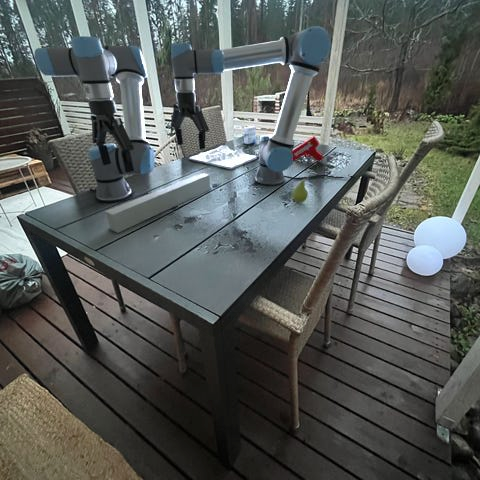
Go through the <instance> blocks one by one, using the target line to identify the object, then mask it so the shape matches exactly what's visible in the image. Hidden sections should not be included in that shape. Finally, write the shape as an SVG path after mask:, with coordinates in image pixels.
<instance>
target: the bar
mask: <svg viewBox="0 0 480 480" xmlns="http://www.w3.org/2000/svg"><path fill="white" fill-rule="evenodd" d="M210 176H211V175H210V174H208V173H205V172H201V173H198V174H195V175H193V176H191V177H189V178H186V179H184V180H181V181H178V182H175V183H173V184H170V185H168V186H165V187H162V188H161V189H158V190H156V191H153V192H150V193H147V194H145V195H143V196H140V197H138V198H135V199H133V200H130V201H128V202H125V203H122V204H120V205H118V206H115V207H112V208H110V209H108V210H105V211H104V212H105V215H106V218H107V221H108V225H109V228H110V230H111V231H114V232H115V233H117V234H119V233H121V232H123V231H125V230H128V229H130V228H131V227H134V226H136V225H138V224H140V223H143V222H144V221H146V220H148V219H151V218H153V217H155V216H157V215H159V214H161V213H164V212H165V211H167V210H168V211H169V210H170V209H172V208H174V207H177V206H178V205H180V204H183V203H185V202H187V201H189V200H191V199H194V198H196V197H197V196H200V195H202V194H204V193H206V192H208V191H210V190H211V178H210Z"/></svg>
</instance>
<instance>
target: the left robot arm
mask: <svg viewBox="0 0 480 480" xmlns="http://www.w3.org/2000/svg"><path fill="white" fill-rule="evenodd" d="M70 42H71V45H72V47H47V46H45V47H38V48H37V47H36V48H35V50H34V56H33V57H34V61H35V64H36V66H37V68H38V70H39V71H40V72H41V74H43V75H44V76H45V77H54V78H59V77H61V78H62V77H80V79H81V82H82V85H83V92H85V96H86V99H88V102H87V104H88V108H89V111H90V114H91V115H90V120H91V121H90V122H91V131H92V132H91V135H92V136H91V137H92V138H91V139H92V143H93V144H95V145H96V146H93V147H91V148H90V149H89V150H88V152H87V154H88V158H89V162H90V166H91V168H92V171H93V175H94V179H95V181H96V189H93V188H89V189H88V190H89V191H92V192H96V193H95V196H96V199H97V201H98V202H101V203H106V204H107V203H117V202H122V201H125V200H128V199H129V198H130V197H131V196H132V195H133V193H132V189H131V187H130V185H129V183H128V182H127V181H126V178H125V177H124V175H136V174H137V175H139V174H141V175H144V174H150V173H152V172H153V171H154V168H155V161H156V158H155V157H156V156H155V149H154V147H153V146H152V145H151V144H150V141H148V139H146V128H145V126H146V125H145V116H144V115H145V114H144V105H143V95H142V85H144V83H145V79H146V78H147V77H148V71H147V66H146V62H145V58H144V55H143V53H142V50H141V48H140V47H139V46H137V45H131V44H130V45H129V44H128V45H102V42H101V39H100V38H99V37H96V36H88V35H87V36H84V35H83V36H81V35H79V36H73V37H72V38H71V41H70ZM110 78H112V79H113V78H115V80H116V82H117V83H119V89H120V99H121V106H122V107H121V109H122V118H121V117H117V118H116V117H115V114H116V113H117V112H118V111H117V107H116V102H115V99H114V93H113V88H112V84H111V80H110ZM122 119H123V120H122ZM107 134H109V135H111V136H112V138H113V140H114V141H115V142H116V143H113V142H108V143H107V142H106V139H107ZM116 144H117V145H116ZM117 146H118V147H117Z"/></svg>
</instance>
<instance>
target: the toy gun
mask: <svg viewBox="0 0 480 480" xmlns="http://www.w3.org/2000/svg"><path fill="white" fill-rule="evenodd" d="M319 144H320V141H319V140H318V138H317V137H316V136H315V135H313V136H312V137H310V138H309V139H307V140H306V141H304V142H302V143H301V144H300V145H298V146H296V147H294V148H293V151H292V155H293V161H294V162H295V161H296V160H295V159H297V160H298V159H300V158H302V157H303V156H304V158H305V159H308V158H309V157H312V158H313V159H314V160H315V161H316V163H319V162H321V161H323V158H324V154H323V153H321V152H320V151H319V150H318V149H317V147H319ZM317 160H319V162H318V161H317ZM320 160H321V161H320Z"/></svg>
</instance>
